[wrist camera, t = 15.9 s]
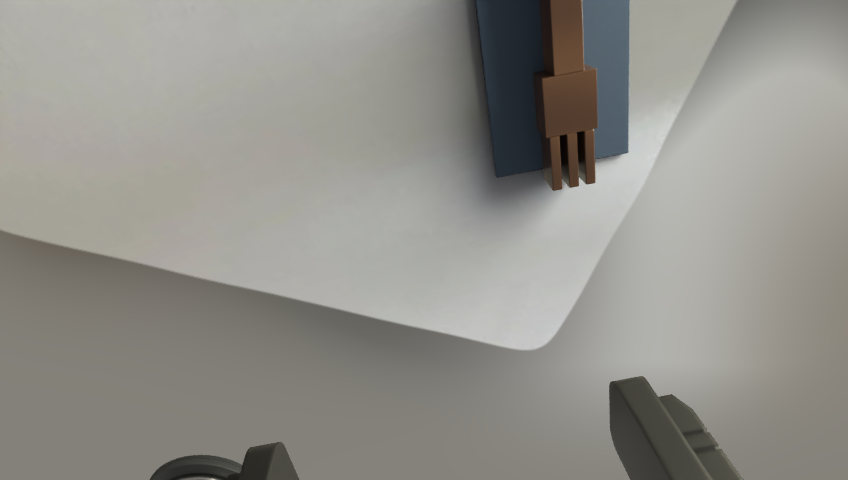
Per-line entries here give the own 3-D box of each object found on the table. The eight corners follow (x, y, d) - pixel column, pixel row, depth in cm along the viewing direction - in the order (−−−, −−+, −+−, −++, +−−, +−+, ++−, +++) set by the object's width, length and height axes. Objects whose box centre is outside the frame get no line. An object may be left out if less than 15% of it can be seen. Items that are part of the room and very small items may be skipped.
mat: (626, 151, 39) (628, 152, 38) (495, 176, 39) (496, 177, 38) (628, -137, 30) (631, -139, 30) (462, -103, 30) (463, -104, 30)
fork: (519, -98, 30) (529, -104, 28) (578, -110, 30) (593, -117, 28) (540, 180, 39) (549, 192, 37) (587, 171, 39) (599, 182, 36)
